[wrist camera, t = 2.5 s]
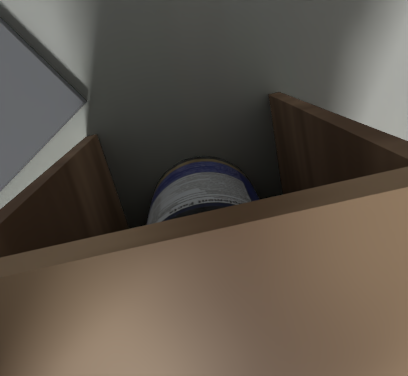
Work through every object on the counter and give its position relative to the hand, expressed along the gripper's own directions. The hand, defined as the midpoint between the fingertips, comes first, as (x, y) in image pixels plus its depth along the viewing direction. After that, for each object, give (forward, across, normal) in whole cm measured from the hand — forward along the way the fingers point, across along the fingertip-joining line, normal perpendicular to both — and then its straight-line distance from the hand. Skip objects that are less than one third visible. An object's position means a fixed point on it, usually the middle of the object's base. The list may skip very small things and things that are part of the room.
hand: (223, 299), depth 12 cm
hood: (+8, 0, 0) cm, 9 cm away
